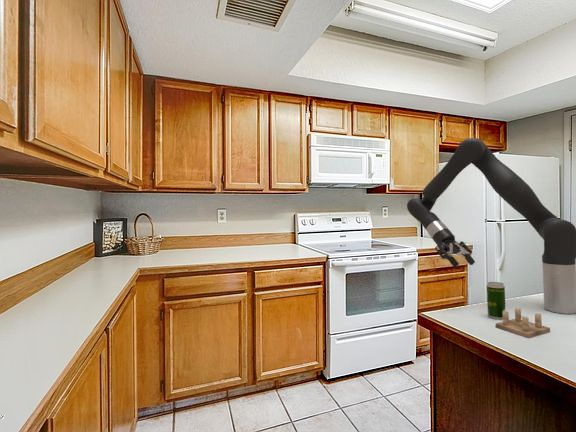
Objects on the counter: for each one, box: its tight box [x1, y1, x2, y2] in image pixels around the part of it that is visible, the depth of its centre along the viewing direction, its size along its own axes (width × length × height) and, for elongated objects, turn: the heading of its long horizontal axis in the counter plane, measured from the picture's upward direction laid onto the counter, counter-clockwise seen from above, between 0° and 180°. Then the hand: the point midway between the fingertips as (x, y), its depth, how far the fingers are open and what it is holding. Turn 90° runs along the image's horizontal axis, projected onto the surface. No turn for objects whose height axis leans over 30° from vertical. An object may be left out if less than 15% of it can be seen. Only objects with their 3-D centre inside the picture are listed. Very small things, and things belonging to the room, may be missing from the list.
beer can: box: [486, 281, 507, 321], centre depth 111 cm, size 5×5×12 cm
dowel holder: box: [495, 307, 551, 339], centre depth 100 cm, size 10×10×5 cm
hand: (465, 264), depth 122 cm, fingers open, 8 cm apart
